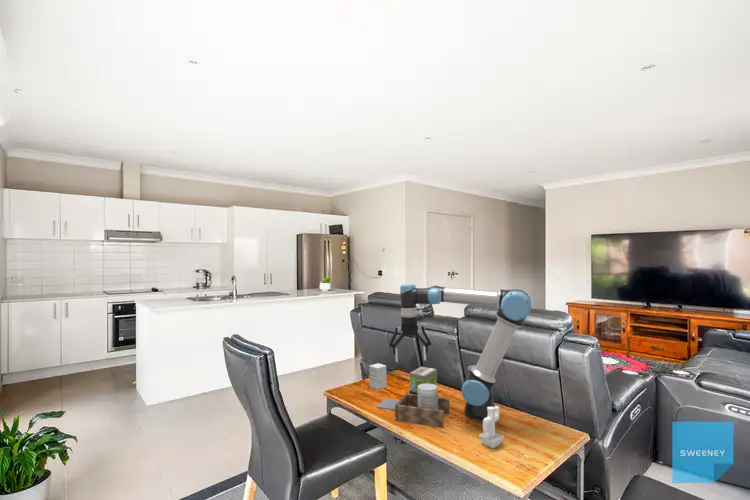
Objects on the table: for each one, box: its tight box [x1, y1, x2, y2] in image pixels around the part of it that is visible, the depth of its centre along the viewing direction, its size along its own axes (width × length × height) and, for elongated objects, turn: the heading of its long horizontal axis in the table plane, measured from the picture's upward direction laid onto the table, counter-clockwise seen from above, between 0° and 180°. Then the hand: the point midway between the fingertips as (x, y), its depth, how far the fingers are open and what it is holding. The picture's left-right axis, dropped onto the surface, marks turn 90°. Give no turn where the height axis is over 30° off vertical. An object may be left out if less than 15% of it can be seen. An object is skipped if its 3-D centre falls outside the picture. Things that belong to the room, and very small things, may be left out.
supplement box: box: [368, 362, 387, 391], centre depth 224 cm, size 7×7×13 cm
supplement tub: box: [417, 383, 439, 410], centre depth 181 cm, size 10×10×15 cm
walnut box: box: [394, 393, 451, 429], centre depth 182 cm, size 22×17×7 cm
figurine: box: [478, 405, 505, 449], centre depth 155 cm, size 7×9×15 cm
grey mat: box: [376, 398, 400, 411], centre depth 197 cm, size 12×12×1 cm
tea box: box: [408, 366, 438, 395], centre depth 206 cm, size 15×10×15 cm, turn 148°
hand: (410, 360), depth 184 cm, fingers open, 13 cm apart
